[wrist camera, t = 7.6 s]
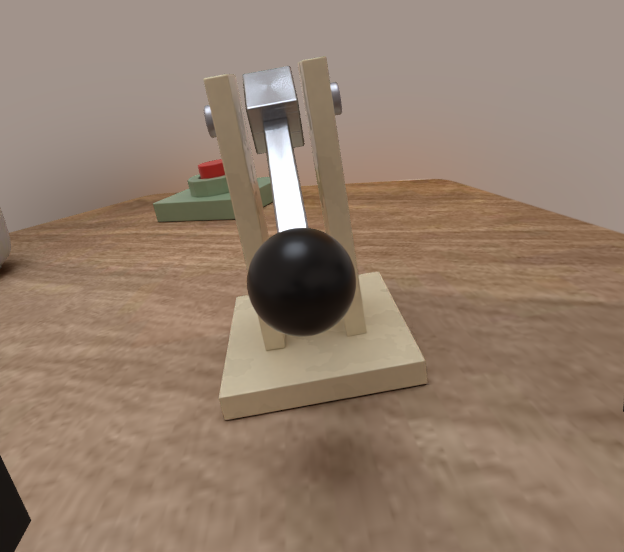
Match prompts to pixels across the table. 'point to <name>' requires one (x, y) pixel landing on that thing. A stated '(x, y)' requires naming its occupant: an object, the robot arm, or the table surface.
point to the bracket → (369, 287)
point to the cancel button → (211, 169)
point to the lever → (291, 223)
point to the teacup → (4, 240)
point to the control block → (205, 200)
